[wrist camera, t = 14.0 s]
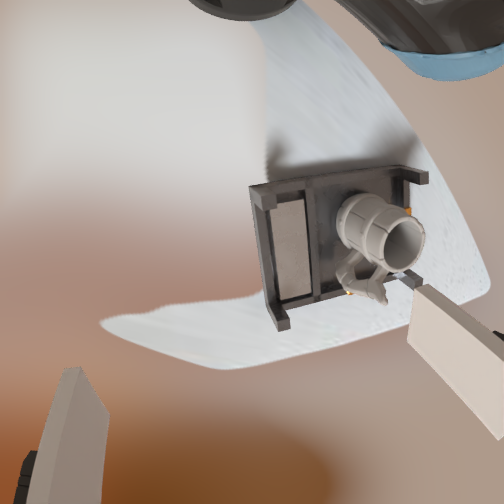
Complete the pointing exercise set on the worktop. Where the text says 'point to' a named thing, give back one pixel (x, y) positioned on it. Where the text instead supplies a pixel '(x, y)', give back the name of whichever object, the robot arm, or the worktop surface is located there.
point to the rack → (318, 233)
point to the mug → (376, 242)
